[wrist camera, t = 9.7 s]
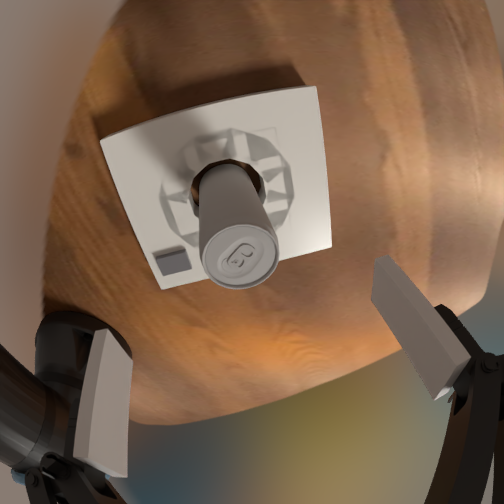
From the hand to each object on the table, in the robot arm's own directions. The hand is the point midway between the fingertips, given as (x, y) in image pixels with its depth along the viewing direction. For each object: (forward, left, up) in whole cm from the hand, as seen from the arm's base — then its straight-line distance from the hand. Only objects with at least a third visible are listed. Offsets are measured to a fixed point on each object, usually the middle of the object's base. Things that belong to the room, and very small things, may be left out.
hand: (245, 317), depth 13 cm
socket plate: (0, 0, -17) cm, 16 cm away
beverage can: (0, 0, -17) cm, 17 cm away
